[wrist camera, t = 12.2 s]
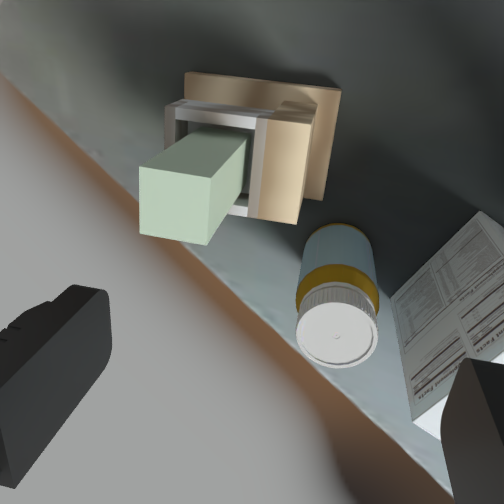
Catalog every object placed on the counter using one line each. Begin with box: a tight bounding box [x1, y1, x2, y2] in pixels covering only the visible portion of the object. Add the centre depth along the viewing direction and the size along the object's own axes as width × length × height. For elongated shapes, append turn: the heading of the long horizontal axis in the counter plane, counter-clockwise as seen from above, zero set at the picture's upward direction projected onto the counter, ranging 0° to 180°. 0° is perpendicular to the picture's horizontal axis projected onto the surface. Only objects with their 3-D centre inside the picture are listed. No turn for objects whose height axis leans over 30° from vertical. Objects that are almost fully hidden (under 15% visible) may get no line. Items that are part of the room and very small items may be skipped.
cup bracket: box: [164, 71, 341, 224], centre depth 38 cm, size 14×10×12 cm
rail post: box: [139, 126, 252, 245], centre depth 30 cm, size 4×4×12 cm
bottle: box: [296, 223, 379, 368], centre depth 40 cm, size 7×7×15 cm
